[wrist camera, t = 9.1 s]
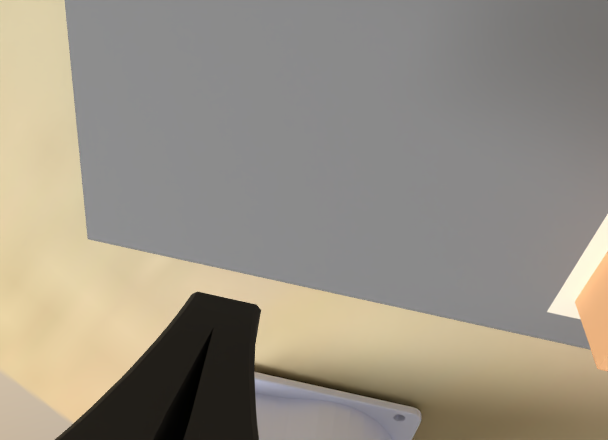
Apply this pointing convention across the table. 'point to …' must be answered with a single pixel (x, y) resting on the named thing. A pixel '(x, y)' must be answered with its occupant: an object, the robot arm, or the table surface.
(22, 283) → the table surface
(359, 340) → the table surface
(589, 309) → the t block
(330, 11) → the mat
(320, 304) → the table surface
